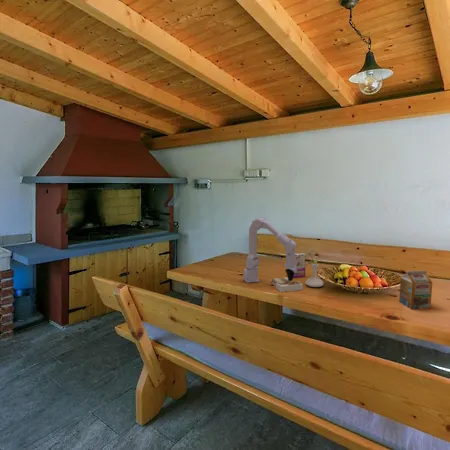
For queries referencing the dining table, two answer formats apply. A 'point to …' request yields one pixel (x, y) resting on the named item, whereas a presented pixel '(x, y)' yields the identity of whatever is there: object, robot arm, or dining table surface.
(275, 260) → the dining table surface
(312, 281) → the flower in vase
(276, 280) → the birch board
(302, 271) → the candy bar box
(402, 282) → the milk carton
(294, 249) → the robot arm
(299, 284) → the tray
